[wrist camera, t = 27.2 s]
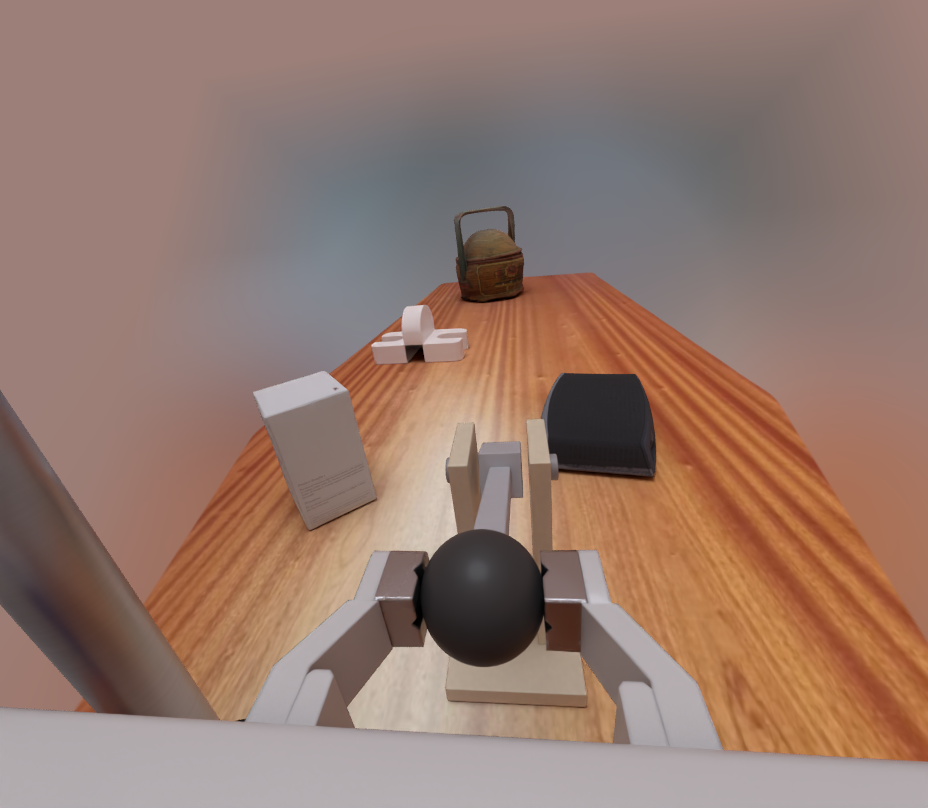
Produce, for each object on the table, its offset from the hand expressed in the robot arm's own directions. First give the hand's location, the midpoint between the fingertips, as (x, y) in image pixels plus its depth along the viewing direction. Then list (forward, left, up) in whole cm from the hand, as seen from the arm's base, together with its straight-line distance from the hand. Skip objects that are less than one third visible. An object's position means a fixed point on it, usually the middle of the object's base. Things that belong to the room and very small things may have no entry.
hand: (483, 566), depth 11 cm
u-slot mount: (-18, +69, -17) cm, 74 cm away
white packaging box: (-19, +24, -17) cm, 35 cm away
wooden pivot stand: (0, +10, -17) cm, 20 cm away
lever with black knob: (0, +4, -4) cm, 5 cm away
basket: (-6, +121, -17) cm, 123 cm away
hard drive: (+10, +36, -17) cm, 42 cm away
